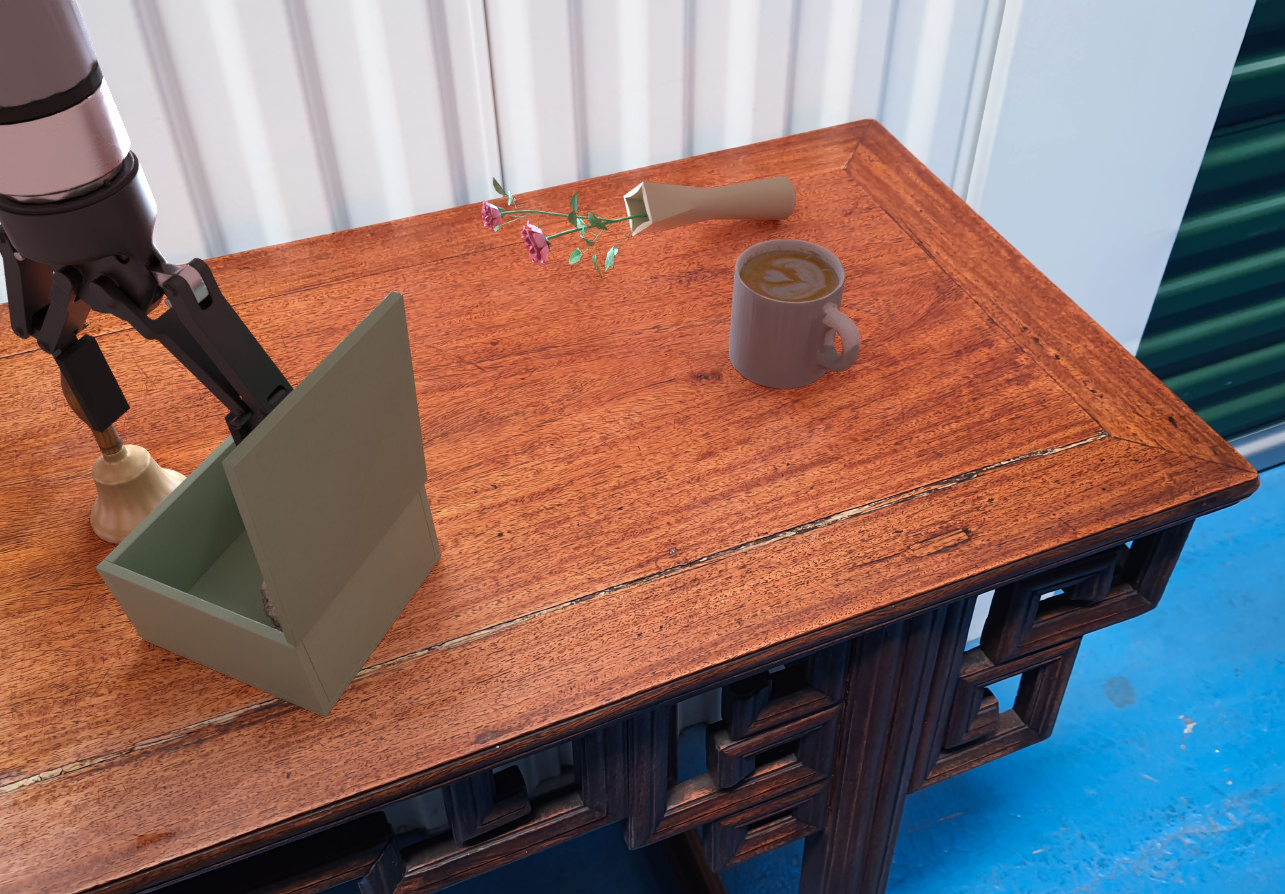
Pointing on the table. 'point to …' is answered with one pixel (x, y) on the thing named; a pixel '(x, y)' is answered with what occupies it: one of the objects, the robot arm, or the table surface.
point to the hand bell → (122, 480)
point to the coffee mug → (789, 314)
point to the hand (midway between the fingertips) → (190, 447)
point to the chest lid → (332, 468)
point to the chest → (258, 592)
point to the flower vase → (659, 211)
